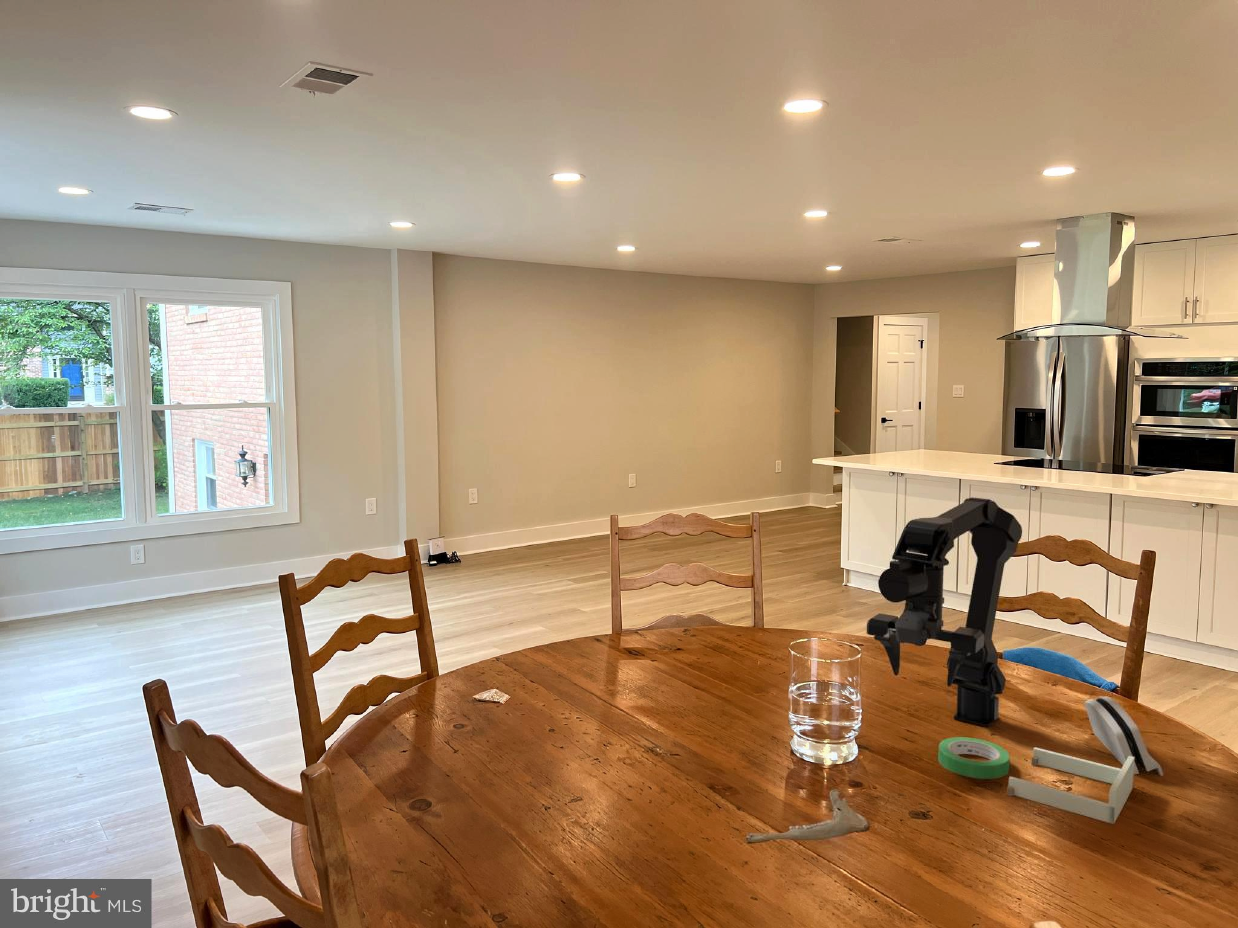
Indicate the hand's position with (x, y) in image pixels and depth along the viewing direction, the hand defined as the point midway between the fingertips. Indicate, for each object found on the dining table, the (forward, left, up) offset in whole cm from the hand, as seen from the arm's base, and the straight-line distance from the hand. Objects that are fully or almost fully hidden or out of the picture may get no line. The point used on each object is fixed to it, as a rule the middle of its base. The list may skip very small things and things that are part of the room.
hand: (922, 680), depth 149 cm
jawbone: (-4, -36, -13) cm, 38 cm away
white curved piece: (+27, +20, -13) cm, 36 cm away
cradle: (+24, 0, -12) cm, 27 cm away
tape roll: (+9, 0, -13) cm, 16 cm away
